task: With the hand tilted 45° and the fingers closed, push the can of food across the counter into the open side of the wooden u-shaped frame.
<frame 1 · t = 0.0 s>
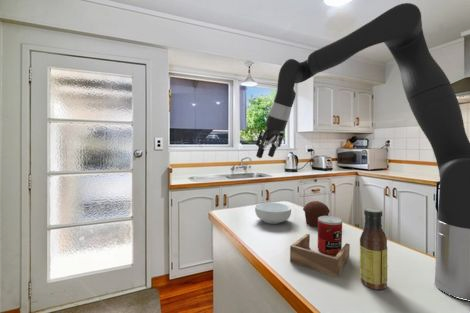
hand: (264, 156, 94), 31 cm above the counter, tool tilted 20°, fingers open, 8 cm apart
muffin: (315, 224, 110), on the counter
sauce bottle: (372, 284, 63), on the counter
cereal bowl: (272, 221, 113), on the counter
canned food: (329, 251, 83), on the counter
wooden u-shaped frame: (319, 260, 76), on the counter
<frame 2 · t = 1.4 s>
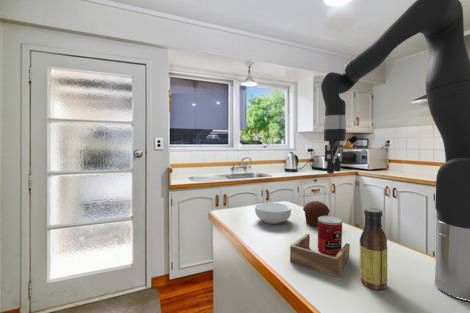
hand: (333, 172, 90), 26 cm above the counter, tool pointing down, fingers open, 7 cm apart
nothing on the counter moved.
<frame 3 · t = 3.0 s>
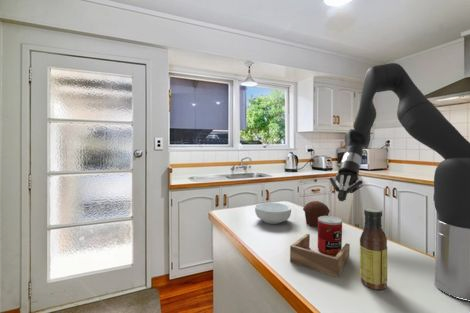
hand: (341, 200, 92), 15 cm above the counter, tool tilted 45°, fingers closed
nothing on the counter moved.
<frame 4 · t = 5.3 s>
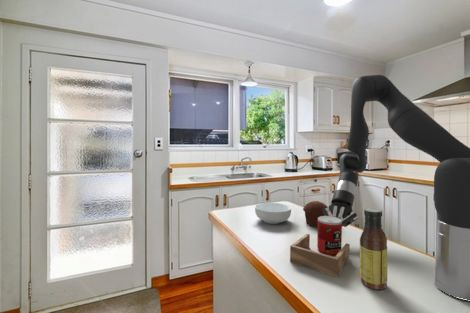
hand: (333, 234, 86), 4 cm above the counter, tool tilted 45°, fingers closed
canned food: (329, 251, 82), on the counter, touching gripper
everything else where it was.
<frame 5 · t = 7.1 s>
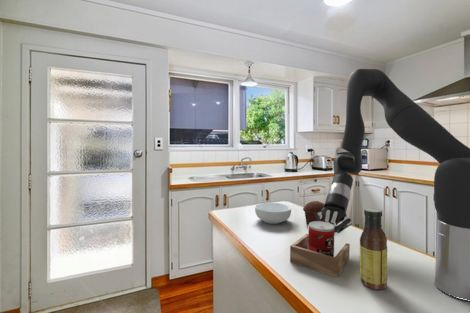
hand: (325, 241, 80), 4 cm above the counter, tool tilted 45°, fingers closed
canned food: (320, 259, 77), on the counter, touching gripper
everything else where it was.
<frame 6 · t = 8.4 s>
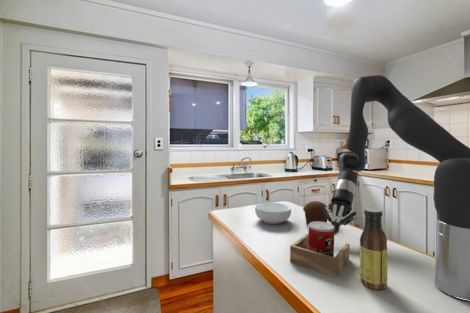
hand: (333, 232, 86), 5 cm above the counter, tool tilted 45°, fingers closed
canned food: (320, 259, 77), on the counter
everything else where it was.
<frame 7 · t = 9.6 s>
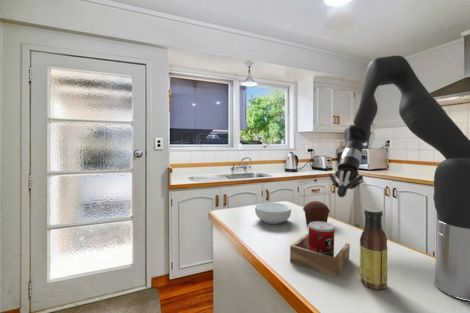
hand: (340, 195, 90), 17 cm above the counter, tool tilted 45°, fingers closed
nothing on the counter moved.
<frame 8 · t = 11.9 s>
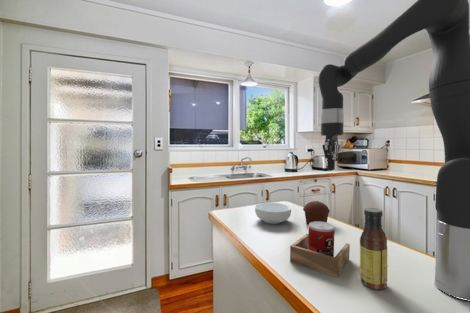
hand: (331, 169, 88), 27 cm above the counter, tool pointing down, fingers closed
nothing on the counter moved.
at the end: canned food 1.2 cm from the wooden u-shaped frame (horizontally); canned food tilted 0° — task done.
